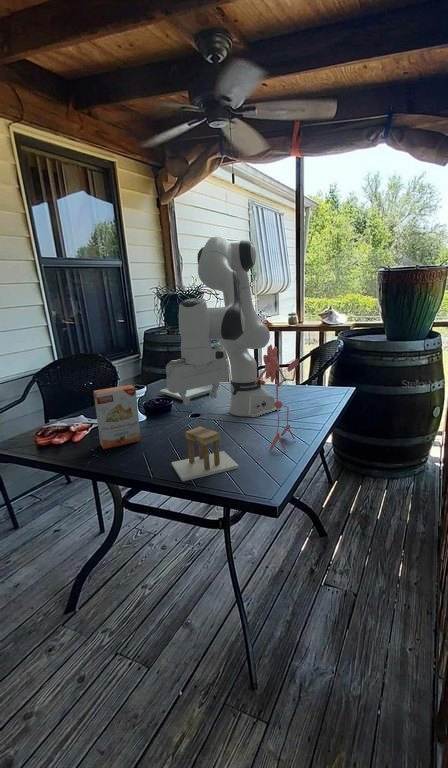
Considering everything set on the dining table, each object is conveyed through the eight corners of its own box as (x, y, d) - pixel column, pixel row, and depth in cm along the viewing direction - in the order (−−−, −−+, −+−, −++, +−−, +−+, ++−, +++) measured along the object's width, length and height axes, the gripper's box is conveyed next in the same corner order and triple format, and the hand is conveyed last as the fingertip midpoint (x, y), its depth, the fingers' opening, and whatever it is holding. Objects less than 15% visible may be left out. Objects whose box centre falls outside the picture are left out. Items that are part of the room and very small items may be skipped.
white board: (223, 453, 135) (223, 450, 135) (238, 468, 125) (238, 465, 124) (171, 465, 129) (171, 462, 129) (182, 481, 118) (182, 478, 118)
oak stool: (221, 464, 125) (219, 432, 123) (206, 471, 121) (204, 438, 119) (202, 456, 132) (200, 426, 129) (188, 462, 128) (185, 431, 125)
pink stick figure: (305, 433, 148) (303, 338, 140) (279, 462, 127) (274, 352, 118) (267, 428, 156) (262, 338, 147) (236, 455, 135) (228, 351, 126)
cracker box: (103, 450, 143) (95, 394, 138) (100, 444, 149) (92, 390, 143) (141, 441, 149) (135, 387, 144) (137, 436, 155) (131, 383, 149)
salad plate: (184, 403, 193) (183, 396, 192) (159, 396, 208) (158, 389, 208) (216, 393, 207) (216, 387, 206) (191, 387, 222) (190, 381, 221)
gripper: (170, 363, 109) (175, 411, 113) (230, 351, 121) (233, 395, 124) (159, 360, 114) (164, 406, 118) (218, 349, 126) (221, 391, 129)
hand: (200, 400), depth 121 cm, fingers open, 8 cm apart
